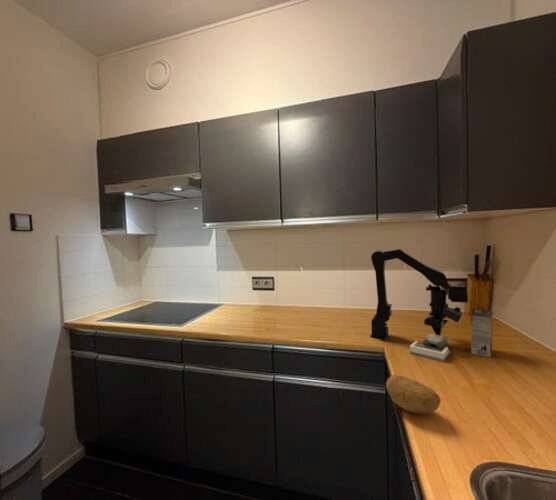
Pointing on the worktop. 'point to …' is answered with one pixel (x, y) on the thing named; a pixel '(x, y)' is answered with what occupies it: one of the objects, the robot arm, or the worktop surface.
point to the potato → (412, 395)
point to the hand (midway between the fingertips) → (438, 337)
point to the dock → (429, 351)
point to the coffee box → (481, 332)
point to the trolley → (436, 341)
